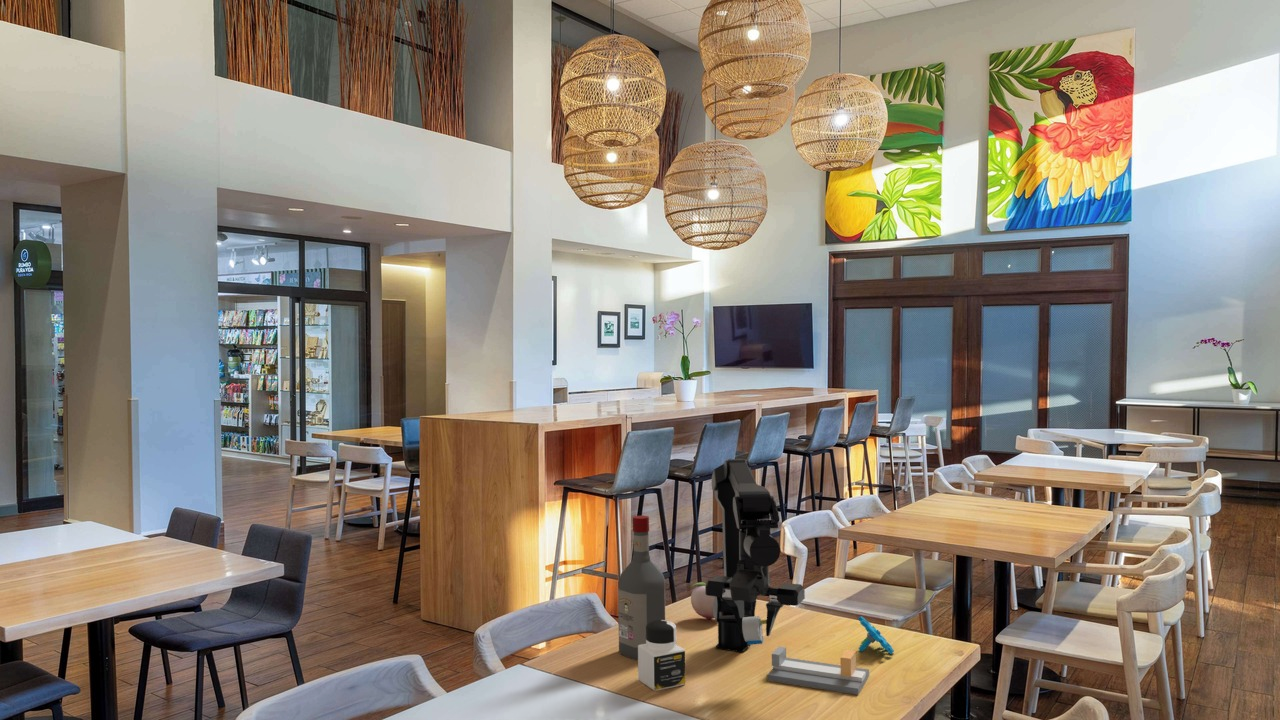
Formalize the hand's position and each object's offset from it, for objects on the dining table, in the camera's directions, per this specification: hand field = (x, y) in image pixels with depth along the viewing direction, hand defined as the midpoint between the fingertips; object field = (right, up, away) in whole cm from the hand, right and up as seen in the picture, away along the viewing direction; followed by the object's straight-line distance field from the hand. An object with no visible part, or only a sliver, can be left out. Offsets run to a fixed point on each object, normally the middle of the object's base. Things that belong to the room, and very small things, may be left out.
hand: (754, 633), depth 165 cm
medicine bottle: (-18, -11, +3) cm, 22 cm away
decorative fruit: (-5, -11, +44) cm, 45 cm away
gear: (+29, -11, +20) cm, 37 cm away
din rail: (+13, -10, +5) cm, 18 cm away
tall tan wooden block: (+19, -8, +2) cm, 21 cm away
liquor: (-22, -11, +21) cm, 32 cm away
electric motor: (+1, -2, 0) cm, 2 cm away
